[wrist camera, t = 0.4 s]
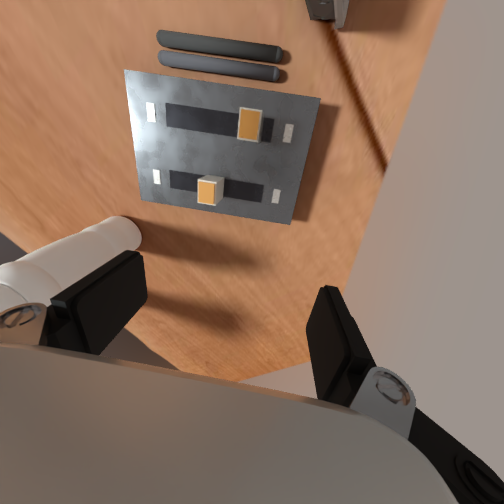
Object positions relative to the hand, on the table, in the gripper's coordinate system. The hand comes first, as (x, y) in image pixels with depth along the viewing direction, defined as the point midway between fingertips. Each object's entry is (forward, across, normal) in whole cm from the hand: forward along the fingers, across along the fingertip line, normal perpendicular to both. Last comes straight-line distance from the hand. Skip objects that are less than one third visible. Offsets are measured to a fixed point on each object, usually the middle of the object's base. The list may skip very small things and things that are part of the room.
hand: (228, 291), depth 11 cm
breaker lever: (+22, +7, -1) cm, 23 cm away
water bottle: (+26, +25, +11) cm, 37 cm away
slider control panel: (+25, +7, -5) cm, 26 cm away
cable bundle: (+24, +8, -16) cm, 30 cm away
